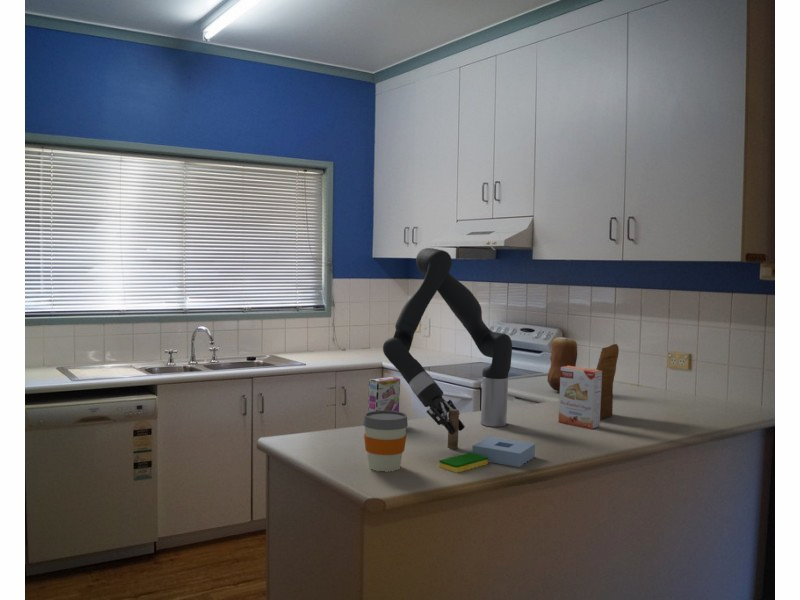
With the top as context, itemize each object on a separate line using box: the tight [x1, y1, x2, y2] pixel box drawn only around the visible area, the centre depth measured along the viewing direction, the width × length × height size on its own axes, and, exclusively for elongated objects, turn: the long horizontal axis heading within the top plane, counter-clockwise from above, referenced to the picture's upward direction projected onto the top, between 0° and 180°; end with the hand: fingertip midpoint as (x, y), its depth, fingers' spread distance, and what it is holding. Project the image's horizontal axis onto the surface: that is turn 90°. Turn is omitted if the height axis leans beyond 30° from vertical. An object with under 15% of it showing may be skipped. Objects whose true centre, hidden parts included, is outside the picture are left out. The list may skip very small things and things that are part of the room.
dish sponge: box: [438, 451, 489, 473], centre depth 211 cm, size 7×14×2 cm, turn 134°
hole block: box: [471, 436, 536, 468], centre depth 220 cm, size 13×15×4 cm
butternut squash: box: [546, 336, 578, 393], centre depth 328 cm, size 14×13×25 cm
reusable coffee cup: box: [363, 411, 409, 473], centre depth 206 cm, size 13×12×15 cm
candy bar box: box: [367, 376, 401, 413], centre depth 258 cm, size 11×5×16 cm, turn 135°
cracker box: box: [557, 366, 602, 430], centre depth 265 cm, size 14×6×21 cm, turn 47°
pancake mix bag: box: [595, 343, 620, 421], centre depth 279 cm, size 7×19×28 cm, turn 138°
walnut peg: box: [447, 408, 460, 450], centre depth 229 cm, size 3×3×12 cm
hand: (458, 430), depth 228 cm, fingers open, 5 cm apart
